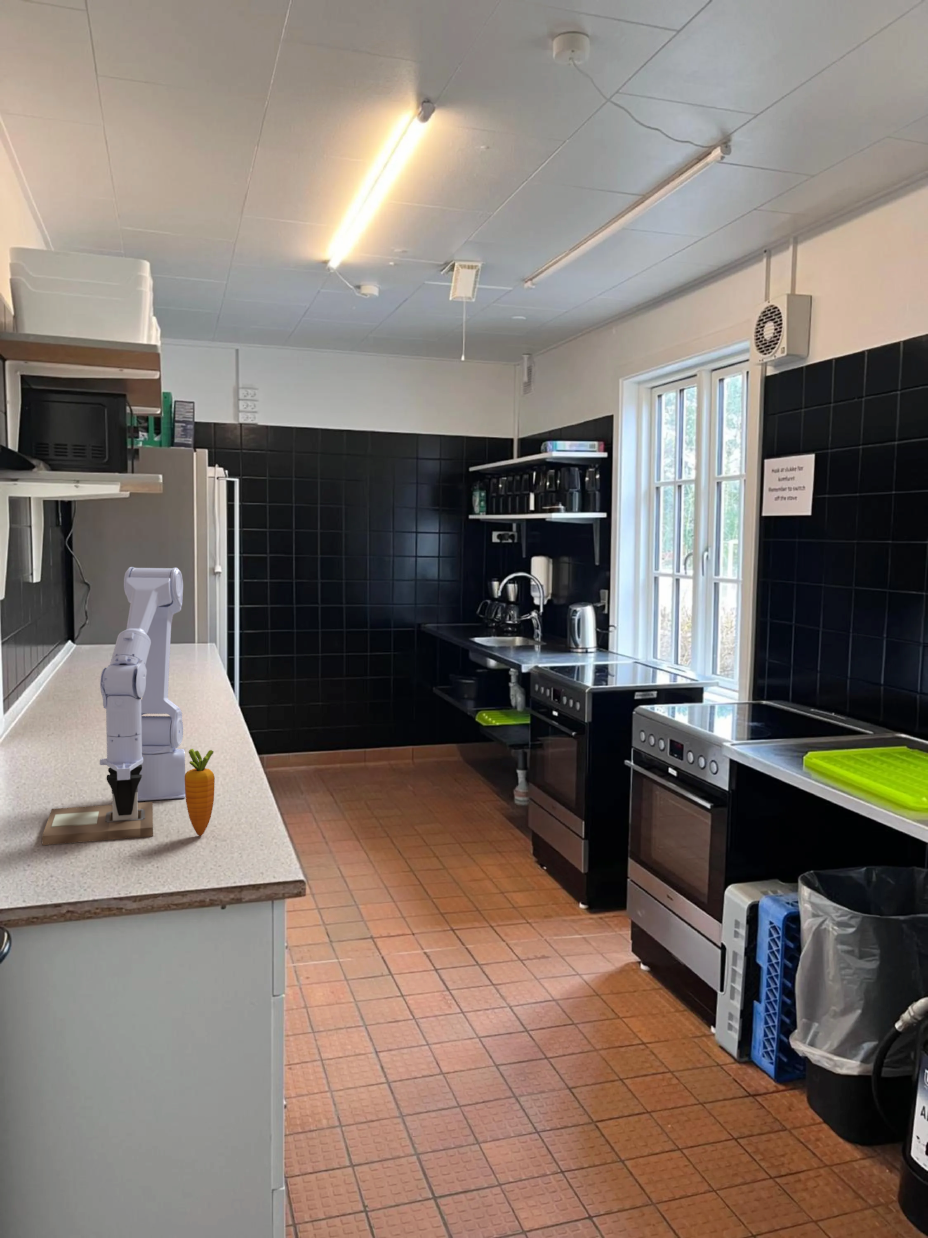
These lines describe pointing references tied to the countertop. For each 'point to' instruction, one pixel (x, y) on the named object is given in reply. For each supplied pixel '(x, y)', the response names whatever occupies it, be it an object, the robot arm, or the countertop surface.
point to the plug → (126, 817)
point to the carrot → (199, 791)
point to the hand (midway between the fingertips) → (125, 811)
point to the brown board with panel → (95, 824)
